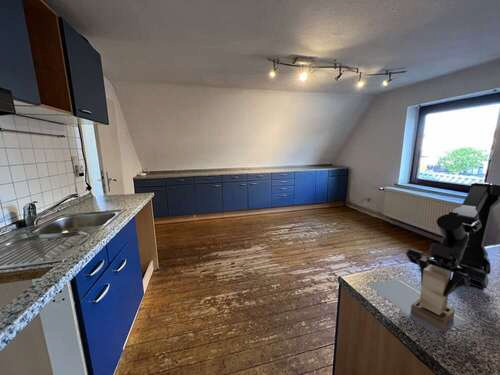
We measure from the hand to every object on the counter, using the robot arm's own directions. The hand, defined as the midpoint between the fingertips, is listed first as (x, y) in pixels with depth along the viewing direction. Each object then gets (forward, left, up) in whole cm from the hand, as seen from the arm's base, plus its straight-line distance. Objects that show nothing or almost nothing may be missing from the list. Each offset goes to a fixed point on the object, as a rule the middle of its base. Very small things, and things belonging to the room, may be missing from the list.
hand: (433, 291), depth 66 cm
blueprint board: (+3, -7, -10) cm, 13 cm away
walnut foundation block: (-1, -1, -9) cm, 9 cm away
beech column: (-1, -1, -6) cm, 6 cm away
